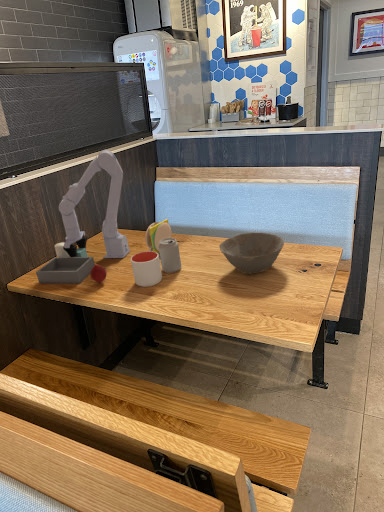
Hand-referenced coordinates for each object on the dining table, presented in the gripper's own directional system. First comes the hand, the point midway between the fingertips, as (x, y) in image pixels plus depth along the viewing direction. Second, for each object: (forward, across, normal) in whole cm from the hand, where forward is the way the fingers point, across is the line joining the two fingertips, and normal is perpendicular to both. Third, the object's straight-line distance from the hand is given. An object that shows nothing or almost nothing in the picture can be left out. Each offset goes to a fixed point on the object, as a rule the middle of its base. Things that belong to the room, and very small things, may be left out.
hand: (79, 257), depth 169 cm
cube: (+2, 0, 0) cm, 2 cm away
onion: (+2, +20, +19) cm, 28 cm away
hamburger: (+2, -11, +33) cm, 35 cm away
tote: (+2, +14, +2) cm, 14 cm away
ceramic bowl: (+2, +9, +75) cm, 76 cm away
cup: (+2, +19, +38) cm, 43 cm away
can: (+2, +9, +44) cm, 45 cm away
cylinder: (+2, -2, -9) cm, 9 cm away
